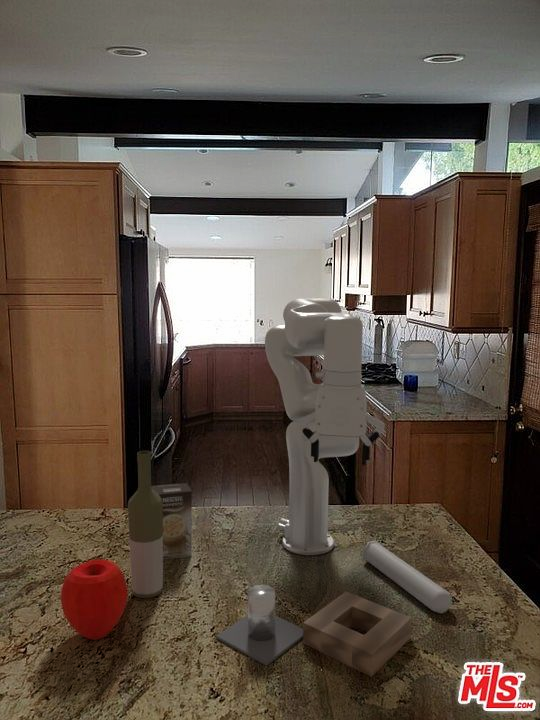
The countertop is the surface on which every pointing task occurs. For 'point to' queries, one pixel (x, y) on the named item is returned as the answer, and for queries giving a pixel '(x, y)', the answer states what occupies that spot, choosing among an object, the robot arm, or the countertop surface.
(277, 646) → the mat
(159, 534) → the bottle
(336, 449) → the robot arm
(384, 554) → the tube
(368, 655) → the bore block
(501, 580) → the countertop surface
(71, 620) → the apple
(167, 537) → the coffee box
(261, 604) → the round peg
